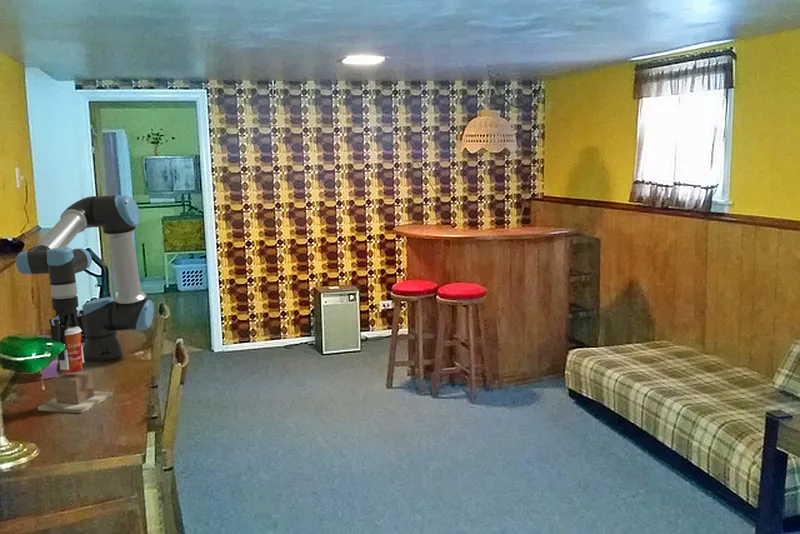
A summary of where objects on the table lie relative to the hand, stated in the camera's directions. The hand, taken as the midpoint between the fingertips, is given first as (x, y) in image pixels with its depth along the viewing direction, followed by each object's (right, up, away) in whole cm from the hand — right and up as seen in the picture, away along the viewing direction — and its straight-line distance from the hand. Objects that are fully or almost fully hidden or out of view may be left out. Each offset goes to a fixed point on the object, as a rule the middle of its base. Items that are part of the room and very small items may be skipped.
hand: (72, 365), depth 235 cm
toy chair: (-23, -8, +32) cm, 41 cm away
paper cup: (0, -2, 0) cm, 2 cm away
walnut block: (0, -11, +2) cm, 11 cm away
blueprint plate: (0, -12, +2) cm, 13 cm away
